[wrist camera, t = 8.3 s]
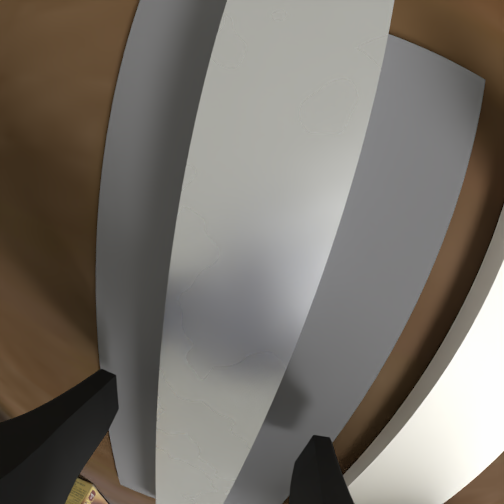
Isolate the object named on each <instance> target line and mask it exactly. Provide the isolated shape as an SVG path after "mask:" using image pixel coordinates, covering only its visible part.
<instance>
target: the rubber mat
mask: <svg viewBox="0 0 504 504" xmlns="http://www.w3.org/2000/svg"><path fill="white" fill-rule="evenodd" d="M226 2H227V0H140V2H139V5H138V8H137V11H136V14H135V17H134V20H133V24H132V27H131V30H130V34H129V37H128V41H127V44H126V48H125V52H124V55H123V59H122V63H121V67H120V71H119V76H118V80H117V85H116V89H115V94H114V99H113V104H112V109H111V114H110V120H109V126H108V132H107V138H106V144H105V151H104V159H103V167H102V175H101V185H100V195H99V207H98V222H97V241H96V315H97V335H98V349H99V361H100V369H104V370H106V371H108V372H111V373H113V374H115V375H116V378H117V392H118V404H119V410H118V412H117V414H116V416H115V418H114V420H113V422H112V424H111V426H110V428H109V435H110V440H111V445H112V450H113V455H114V460H115V464H116V469H117V473H118V477H119V481H120V484H121V485H123V486H125V487H128V488H130V489H132V490H135V491H137V492H140V493H142V494H145V495H147V496H150V497H153V498H155V499H156V423H157V400H158V382H159V367H160V354H161V342H162V331H163V321H164V311H165V302H166V293H167V285H168V277H169V269H170V261H171V254H172V247H173V240H174V233H175V227H176V220H177V214H178V208H179V202H180V196H181V191H182V185H183V179H184V174H185V169H186V164H187V158H188V153H189V148H190V143H191V139H192V134H193V129H194V125H195V120H196V115H197V111H198V107H199V102H200V98H201V94H202V90H203V86H204V81H205V77H206V73H207V70H208V66H209V62H210V58H211V54H212V51H213V47H214V43H215V40H216V36H217V33H218V29H219V26H220V22H221V19H222V15H223V12H224V9H225V5H226ZM484 86H485V79H483V78H482V77H480V76H478V75H476V74H475V73H473V72H471V71H469V70H467V69H465V68H464V67H462V66H460V65H458V64H456V63H454V62H452V61H450V60H448V59H446V58H444V57H442V56H440V55H438V54H436V53H433V52H431V51H429V50H427V49H425V48H422V47H420V46H418V45H415V44H413V43H410V42H408V41H406V40H403V39H401V38H398V37H395V36H393V35H390V34H388V38H387V43H386V48H385V53H384V58H383V63H382V67H381V72H380V76H379V81H378V85H377V90H376V94H375V98H374V102H373V106H372V110H371V114H370V118H369V122H368V126H367V130H366V134H365V138H364V142H363V145H362V149H361V153H360V156H359V160H358V163H357V167H356V170H355V174H354V177H353V181H352V184H351V188H350V191H349V194H348V198H347V201H346V204H345V207H344V211H343V214H342V217H341V220H340V223H339V226H338V229H337V233H336V236H335V239H334V242H333V245H332V248H331V251H330V254H329V257H328V259H327V262H326V265H325V268H324V271H323V274H322V277H321V280H320V282H319V285H318V288H317V291H316V294H315V296H314V299H313V302H312V304H311V307H310V310H309V313H308V315H307V318H306V320H305V323H304V326H303V328H302V331H301V333H300V336H299V339H298V341H297V344H296V346H295V349H294V351H293V354H292V356H291V359H290V361H289V364H288V366H287V368H286V371H285V373H284V376H283V378H282V380H281V383H280V385H279V387H278V390H277V392H276V394H275V397H274V399H273V401H272V404H271V406H270V408H269V410H268V413H267V415H266V417H265V419H264V422H263V424H262V426H261V428H260V430H259V433H258V435H257V437H256V439H255V441H254V443H253V445H252V447H251V450H250V452H249V454H248V456H247V458H246V460H245V462H244V464H243V466H242V468H241V470H240V472H239V474H238V476H237V478H236V480H235V482H234V484H233V486H232V488H231V490H230V492H229V494H228V496H227V498H226V500H225V502H224V503H223V504H282V503H283V502H284V501H285V500H286V499H287V497H288V496H289V495H290V484H291V478H292V473H293V468H294V463H295V461H296V459H297V458H298V457H299V455H300V454H301V452H302V451H303V449H304V448H305V446H306V445H307V444H308V442H309V441H310V439H311V438H312V436H313V435H319V436H325V437H330V439H331V441H332V442H333V441H334V440H335V438H336V437H337V436H338V434H339V433H340V431H341V430H342V429H343V427H344V426H345V424H346V423H347V421H348V420H349V419H350V417H351V416H352V414H353V413H354V411H355V410H356V408H357V407H358V405H359V404H360V402H361V401H362V399H363V398H364V396H365V394H366V393H367V391H368V390H369V388H370V387H371V385H372V383H373V382H374V380H375V378H376V377H377V375H378V373H379V372H380V370H381V368H382V367H383V365H384V363H385V362H386V360H387V358H388V356H389V354H390V353H391V351H392V349H393V347H394V346H395V344H396V342H397V340H398V338H399V336H400V334H401V332H402V331H403V329H404V327H405V325H406V323H407V321H408V319H409V317H410V315H411V313H412V311H413V309H414V307H415V305H416V303H417V300H418V298H419V296H420V294H421V292H422V290H423V288H424V285H425V283H426V281H427V279H428V276H429V274H430V272H431V269H432V267H433V265H434V262H435V260H436V257H437V255H438V252H439V250H440V247H441V245H442V242H443V240H444V237H445V234H446V232H447V229H448V226H449V223H450V220H451V218H452V215H453V212H454V209H455V206H456V203H457V200H458V197H459V193H460V190H461V187H462V184H463V180H464V177H465V173H466V170H467V166H468V162H469V159H470V155H471V151H472V147H473V143H474V138H475V134H476V129H477V125H478V120H479V115H480V110H481V104H482V99H483V92H484Z"/></svg>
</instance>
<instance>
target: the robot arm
mask: <svg viewBox="0 0 504 504" xmlns="http://www.w3.org/2000/svg"><path fill="white" fill-rule="evenodd" d="M118 410H119V404H118V392H117V378H116V375H115V374H113V373H111V372H108V371H106V370H104V369H100V370H98V371H97V372H96V373H94V374H93V375H91V376H90V377H88V378H87V379H85V380H84V381H82V382H81V383H79V384H77V385H76V386H74V387H73V388H71V389H70V390H68V391H66V392H65V393H63V394H61V395H60V396H58V397H56V398H55V399H53V400H51V401H49V402H47V403H45V404H44V405H42V406H40V407H38V408H36V409H34V410H32V411H30V412H27V413H25V414H23V415H20V416H18V417H15V418H13V419H10V420H7V421H4V422H1V423H0V504H65V503H66V500H67V498H68V496H69V494H70V492H71V489H72V487H73V485H74V483H75V481H76V479H77V477H78V476H79V474H80V472H81V470H82V469H83V467H84V466H85V464H86V463H87V461H88V460H89V458H90V457H91V455H92V454H93V452H94V451H95V449H96V448H97V447H98V445H99V444H100V442H101V441H102V439H103V438H104V436H105V435H106V433H107V431H108V430H109V428H110V426H111V424H112V422H113V420H114V418H115V416H116V414H117V412H118ZM289 504H354V502H353V499H352V497H351V495H350V492H349V490H348V487H347V485H346V482H345V480H344V477H343V474H342V472H341V469H340V466H339V463H338V460H337V457H336V454H335V451H334V447H333V444H332V441H331V439H330V437H325V436H319V435H313V436H312V438H311V439H310V441H309V442H308V444H307V445H306V446H305V448H304V449H303V451H302V452H301V454H300V455H299V457H298V458H297V459H296V461H295V463H294V468H293V473H292V478H291V484H290V496H289Z"/></svg>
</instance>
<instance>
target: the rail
mask: <svg viewBox="0 0 504 504" xmlns="http://www.w3.org/2000/svg"><path fill="white" fill-rule="evenodd" d="M393 5H394V0H227V2H226V5H225V9H224V12H223V15H222V19H221V22H220V26H219V29H218V33H217V36H216V40H215V43H214V47H213V51H212V54H211V58H210V62H209V66H208V70H207V73H206V77H205V81H204V86H203V90H202V94H201V98H200V102H199V107H198V111H197V115H196V120H195V125H194V129H193V134H192V139H191V143H190V148H189V153H188V158H187V164H186V169H185V174H184V179H183V185H182V191H181V196H180V202H179V208H178V214H177V220H176V227H175V233H174V240H173V247H172V254H171V261H170V269H169V277H168V285H167V293H166V302H165V311H164V321H163V331H162V342H161V354H160V367H159V382H158V400H157V423H156V504H223V503H224V502H225V500H226V498H227V496H228V494H229V492H230V490H231V488H232V486H233V484H234V482H235V480H236V478H237V476H238V474H239V472H240V470H241V468H242V466H243V464H244V462H245V460H246V458H247V456H248V454H249V452H250V450H251V447H252V445H253V443H254V441H255V439H256V437H257V435H258V433H259V430H260V428H261V426H262V424H263V422H264V419H265V417H266V415H267V413H268V410H269V408H270V406H271V404H272V401H273V399H274V397H275V394H276V392H277V390H278V387H279V385H280V383H281V380H282V378H283V376H284V373H285V371H286V368H287V366H288V364H289V361H290V359H291V356H292V354H293V351H294V349H295V346H296V344H297V341H298V339H299V336H300V333H301V331H302V328H303V326H304V323H305V320H306V318H307V315H308V313H309V310H310V307H311V304H312V302H313V299H314V296H315V294H316V291H317V288H318V285H319V282H320V280H321V277H322V274H323V271H324V268H325V265H326V262H327V259H328V257H329V254H330V251H331V248H332V245H333V242H334V239H335V236H336V233H337V229H338V226H339V223H340V220H341V217H342V214H343V211H344V207H345V204H346V201H347V198H348V194H349V191H350V188H351V184H352V181H353V177H354V174H355V170H356V167H357V163H358V160H359V156H360V153H361V149H362V145H363V142H364V138H365V134H366V130H367V126H368V122H369V118H370V114H371V110H372V106H373V102H374V98H375V94H376V90H377V85H378V81H379V76H380V72H381V67H382V63H383V58H384V53H385V48H386V43H387V38H388V33H389V28H390V22H391V16H392V11H393Z"/></svg>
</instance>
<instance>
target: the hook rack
mask: <svg viewBox="0 0 504 504" xmlns="http://www.w3.org/2000/svg"><path fill="white" fill-rule="evenodd" d="M503 451H504V205H503V208H502V211H501V214H500V217H499V220H498V223H497V226H496V229H495V232H494V234H493V237H492V240H491V242H490V245H489V247H488V250H487V253H486V255H485V257H484V260H483V262H482V265H481V267H480V269H479V272H478V274H477V276H476V278H475V281H474V283H473V285H472V287H471V289H470V291H469V293H468V295H467V297H466V300H465V302H464V304H463V306H462V308H461V309H460V311H459V313H458V315H457V317H456V319H455V321H454V323H453V325H452V327H451V328H450V330H449V332H448V334H447V335H446V337H445V339H444V341H443V342H442V344H441V346H440V348H439V349H438V351H437V353H436V354H435V356H434V358H433V359H432V361H431V362H430V364H429V366H428V367H427V369H426V370H425V372H424V373H423V375H422V376H421V378H420V379H419V381H418V382H417V384H416V385H415V387H414V388H413V390H412V391H411V393H410V394H409V396H408V397H407V398H406V400H405V401H404V402H403V404H402V405H401V407H400V408H399V409H398V411H397V412H396V413H395V415H394V416H393V417H392V419H391V420H390V421H389V422H388V424H387V425H386V426H385V428H384V429H383V430H382V431H381V433H380V434H379V435H378V436H377V437H376V439H375V440H374V441H373V442H372V443H371V445H370V446H369V447H368V448H367V449H366V450H365V452H364V453H363V454H362V455H361V456H360V457H359V458H358V460H357V461H356V462H355V463H354V464H353V465H352V466H351V467H350V468H349V469H348V470H347V471H346V473H345V474H344V475H343V477H344V480H345V482H346V485H347V487H348V490H349V492H350V495H351V497H352V499H353V502H354V504H443V503H444V502H446V501H447V500H448V499H450V498H451V497H452V496H453V495H455V494H456V493H457V492H459V491H460V490H461V489H462V488H463V487H465V486H466V485H467V484H468V483H469V482H471V481H472V480H473V479H474V478H475V477H476V476H478V475H479V474H480V473H481V472H482V471H483V470H484V469H485V468H486V467H488V466H489V465H490V464H491V463H492V462H493V461H494V460H495V459H496V458H497V457H498V456H499V455H500V454H501V453H502V452H503Z"/></svg>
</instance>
